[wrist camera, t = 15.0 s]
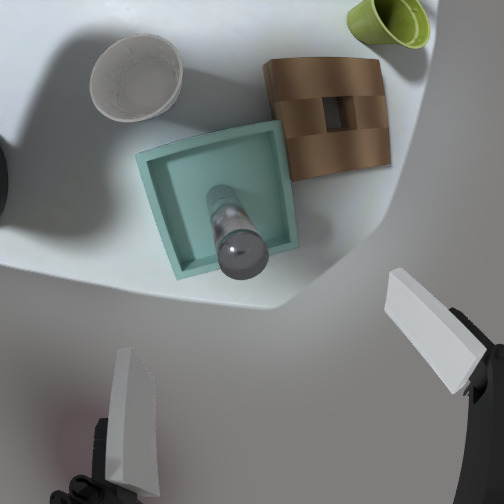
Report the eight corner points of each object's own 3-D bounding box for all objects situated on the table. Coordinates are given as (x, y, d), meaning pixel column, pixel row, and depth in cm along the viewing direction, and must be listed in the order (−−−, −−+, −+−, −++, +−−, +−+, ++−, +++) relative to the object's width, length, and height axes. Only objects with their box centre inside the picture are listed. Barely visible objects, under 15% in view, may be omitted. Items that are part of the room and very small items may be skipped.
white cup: (189, 114, 28) (187, 111, 19) (123, 128, 27) (95, 133, 18) (182, 52, 24) (178, 25, 15) (115, 67, 23) (86, 49, 14)
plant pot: (399, 44, 27) (440, 38, 19) (360, 64, 28) (402, 57, 21) (366, -6, 22) (403, -22, 15) (322, 9, 24) (356, -12, 16)
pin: (210, 216, 33) (224, 285, 20) (202, 188, 31) (212, 242, 18) (238, 209, 33) (272, 272, 20) (232, 181, 32) (264, 228, 19)
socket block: (282, 174, 33) (293, 181, 30) (262, 66, 27) (271, 59, 23) (373, 158, 35) (390, 163, 31) (361, 63, 28) (378, 59, 24)
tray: (177, 268, 36) (177, 280, 34) (140, 152, 28) (135, 155, 26) (291, 237, 38) (299, 247, 35) (272, 120, 30) (280, 120, 27)
